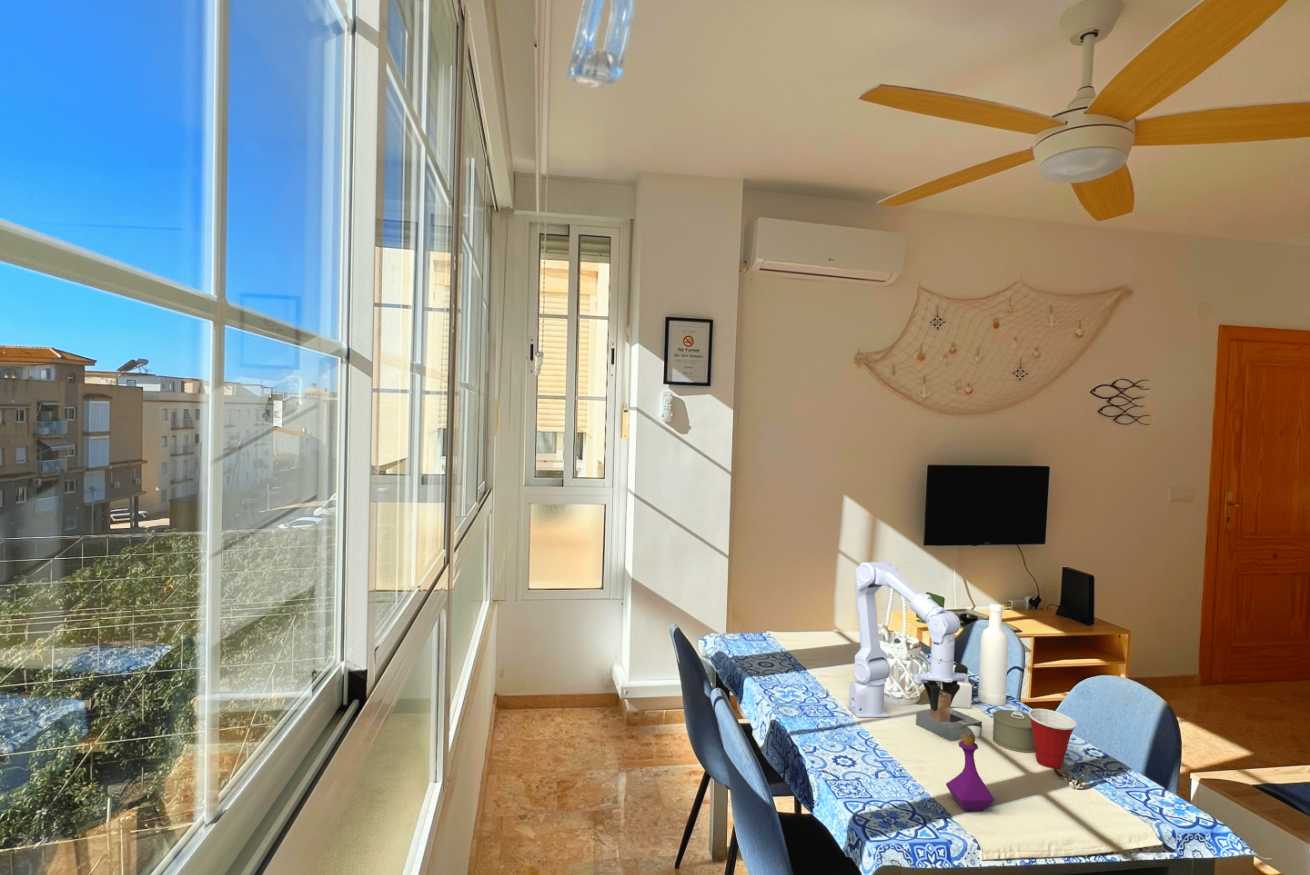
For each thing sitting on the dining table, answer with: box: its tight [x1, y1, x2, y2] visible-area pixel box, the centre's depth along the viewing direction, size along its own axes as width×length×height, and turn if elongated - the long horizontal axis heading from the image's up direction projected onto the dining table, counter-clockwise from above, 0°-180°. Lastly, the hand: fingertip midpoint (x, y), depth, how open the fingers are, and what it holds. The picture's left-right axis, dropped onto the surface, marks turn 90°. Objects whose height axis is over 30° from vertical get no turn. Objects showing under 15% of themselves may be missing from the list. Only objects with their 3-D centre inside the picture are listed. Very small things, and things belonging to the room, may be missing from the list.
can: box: [992, 709, 1035, 754], centre depth 199 cm, size 12×12×7 cm
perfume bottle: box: [945, 726, 996, 812], centre depth 164 cm, size 8×8×18 cm
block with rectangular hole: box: [915, 707, 983, 742], centre depth 207 cm, size 12×12×4 cm
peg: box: [929, 689, 952, 722], centre depth 198 cm, size 3×4×7 cm, turn 9°
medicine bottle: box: [940, 662, 973, 709], centre depth 228 cm, size 7×7×12 cm
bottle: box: [977, 603, 1009, 707], centre depth 231 cm, size 8×8×30 cm
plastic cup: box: [1027, 708, 1077, 769], centre depth 187 cm, size 11×11×12 cm
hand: (939, 709), depth 198 cm, fingers closed on peg, 3 cm apart
